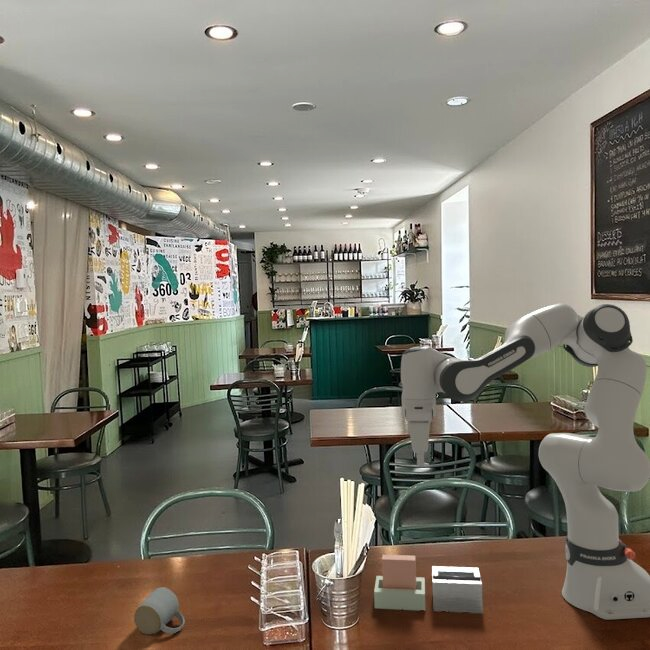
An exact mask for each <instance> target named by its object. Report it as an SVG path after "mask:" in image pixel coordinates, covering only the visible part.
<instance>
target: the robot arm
mask: <svg viewBox="0 0 650 650" xmlns="http://www.w3.org/2000/svg"><path fill="white" fill-rule="evenodd" d="M633 341H634V340H633V336H632V332H631V325H630V320H629V317H628V315H627V314H626V312H625V311H624V310H623V309H622V308H621V307H619V306H617V305H615V304H609V303H607V304H604V303H603V304H600V305H597V306H595V307H593V308H592V309H590V310H589V311H588V312H586V314H585V315H584V316H581V315H580V314H578V313H577V311H576V310H575V309H574V308H573V307H572V306H570V305H569V304H567V303H562V302H561V303H554V304H550V305H546V306H545V307H542V308H539V309H536V310H533V311H532V312H529V313H528V314H525V315H523V316H522V317H520V318H517V320H515V321H514V322H511V323H510V325H508V326H507V328H506V330H505V333H504V342H503V343H502V344H501V345H500V346H498V347H496V348H494V349H493V350H491V351H489V352H487V353H485V354H483V355H482V356H480V357H478V358H476V359H470V360H469V359H468V360H464V359H463V360H462V359H460V358H457V357H455V356H454V357H453V356H451V355H447V354H445V353H443V352H440V351H438V350H436V349H434V348H433V347H432V346H431V345H426V344H425V345H423V344H422V345H416V346H412V347H409V348H407V349H406V350H404V352H403V353H402V355H401V361H400V382H401V385H402V386H401V387H402V392H401V414H402V416H404V418H405V421H406V422H407V423H408V424H407V425H408V427H409V429H408V430H409V436H410V437H409V438H410V444H411V449H412V452H413V453H415V456H416V465H417V466H418V467H424V466H425V453H427V452H428V449H429V441H430V440H429V439H430V437H429V436H430V427H431V422H433V418H434V417H435V416H436V415H437V400H436V399H437V397H436V395H437V393H443V394H445V395H446V396H447V397H448V398H450V399H451V400H453V401H454V402H455V401H456V402H459V403H460V402H461V403H464V402H469V401H472V400H474V399H475V398H476V397H478V396H479V395H480V393H481V392H482V391H484V389H485V388H486V387H487V386H488V385H489V383H491V382H492V381H494V380H496V379H498V378H499V377H501V376H503V375H504V374H506V373H507V372H510V371H512V370H513V369H514V368H517V367H518V366H520V365H522V364H523V363H526V362H528V361H529V360H532V359H534V358H536V357H538V356H541V355H543V354H546V353H547V352H549V351H552V350H554V349H555V348H557V347H560V346H563V349H564V350H565V351H566V352H567V353H568V354H570V356H571V357H572V358H573V359H574V360H575V361H576V362H577V363H579V365H582V366H585V367H586V368H595V367H597V370H596V371H597V372H596V375H595V377H594V380H593V383H592V385H591V388H590V390H589V393H588V396H587V398H586V400H585V401H586V402H585V405H584V407H583V408H584V413H585V416H586V418H587V419H588V421H589V422H591V424H593V426H595V427H596V428H598V429H597V433H596V435H595V436H587V435H582V434H576V433H570V432H556V433H555V432H551V433H549V434H547V435H546V436H544V438H543V439H542V440H541V441H540V444H539V447H538V459H539V462H540V464H541V466H542V468H543V469H544V470H545V471H546V472H547V473H548V474H549V475H550V476H551V477H552V479H553V480H554V481H555V484H556V485H557V487H558V489H559V491H560V493H561V495H562V498H563V501H564V505H565V511H566V521H567V523H566V524H567V535H566V537H565V559H566V561H567V563H566V572H565V573H566V574H565V579H564V582H563V587H562V590H561V595H562V597H563V599H565V601H566V602H567V603H569V604H570V605H572V606H574V608H578V609H580V610H582V611H585V612H589V613H591V614H593V615H595V616H596V617H598V618H600V619H603V620H607V621H608V620H622V619H625V620H626V619H638V618H639V619H641V618H642V619H643V618H650V574H649V573H648V572H647V570H645V569H644V568H643V566H642V567H641V566H640V565H639V564H637V563H636V562H634V560H635V558H636V557H637V556H636V552H634V551H633V549H632V548H630V547H628V546H627V545H626V543H624V542H623V541H622V540H621V539H620V538H619V535H620V534H619V531H620V530H619V513H618V511H617V509H616V507H615V505H614V504H613V503H612V502H611V501H610V500H609V499H607V498H606V496H604V495H603V493H602V492H601V491H600V489H599V488H603V489H608V490H612V491H618V492H639V491H640V490H642V489H643V488H644V487H645V486H646V485H647V484H648V482H649V481H650V459H649V457H648V455H647V454H646V453H645V451H644V450H643V449H642V448H641V447H640V445H639V444H638V443H637V440H636V438H635V434H634V423H635V419H636V415H637V411H638V408H639V404H640V401H641V398H642V396H643V393H644V389H645V388H644V387H645V384H646V380H647V371H648V369H647V368H648V366H647V362H646V360H645V359H644V357H643V355H641V354H639V353H638V352H636V351H634V350H631V349H630V346H631V345H632V344H633Z"/></svg>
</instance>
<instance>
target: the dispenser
mask: <svg viewBox="0 0 650 650" xmlns="http://www.w3.org/2000/svg"><path fill="white" fill-rule="evenodd" d="M431 576H432V577H431V578H432V581H431V582H432V602H433V603H432V605H433V612H441V611H446V613H448V611H449V613H462V612H470V613H469V614H483V613H484V612H483V608H484V607H483V582H482V578H481V573H480V570H479V567H467V566H439V565H438V566H436V565H432V566H431Z"/></svg>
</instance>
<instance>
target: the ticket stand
mask: <svg viewBox="0 0 650 650" xmlns="http://www.w3.org/2000/svg"><path fill="white" fill-rule="evenodd" d="M375 577H376V578H375V584H374V590H373V591H374V592H373V596H374V609H381V610H382V609H383V610H400V611H401V610H402V609H403V610H404V611H420V610H424V611H423V612H425V610H426V609H427V608H426V582H425V581H426V579H425V577H421V576H419V577H417V576H416V588H417V590H412V589H388V588H383V575H376V576H375Z"/></svg>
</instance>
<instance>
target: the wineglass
mask: <svg viewBox="0 0 650 650" xmlns="http://www.w3.org/2000/svg"><path fill="white" fill-rule="evenodd" d="M342 518H343V517H339V518H336V519H335V521H334V527H333V528H334V529H333V535H334V538H335V540H336V538H337V536H338V535H340V534H342Z"/></svg>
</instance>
